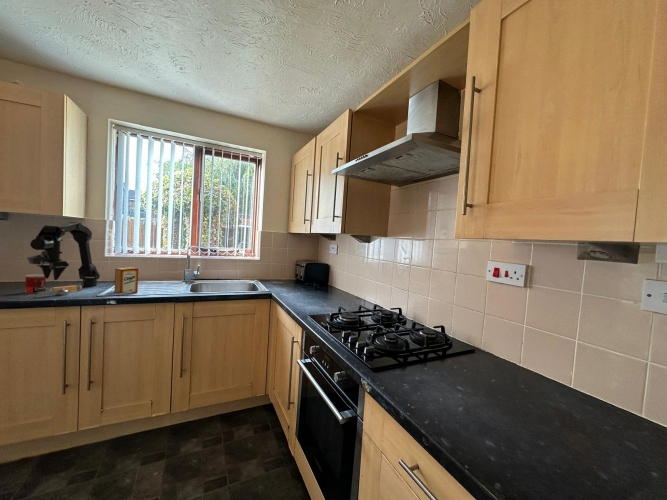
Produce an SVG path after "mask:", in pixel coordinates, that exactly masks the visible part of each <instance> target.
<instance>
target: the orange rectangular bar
mask: <svg viewBox="0 0 667 500" xmlns="http://www.w3.org/2000/svg"><path fill="white" fill-rule="evenodd" d="M77 286H78V285H74V284H73V285H67V286H66V285H64V286H56V287H51V289H52V290H60V289H65V290H69V291H77ZM77 292H78V291H77Z"/></svg>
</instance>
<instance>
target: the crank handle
mask: <svg viewBox="0 0 667 500" xmlns="http://www.w3.org/2000/svg"><path fill="white" fill-rule="evenodd" d="M69 294H70V293H69V290H65V289H60V290H51V291H47V290H46V291H42V292H38V293H37V294H36V295H37V297H44V296H52V295H55V297H56V296H57V297H63V296H68V295H69Z"/></svg>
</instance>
